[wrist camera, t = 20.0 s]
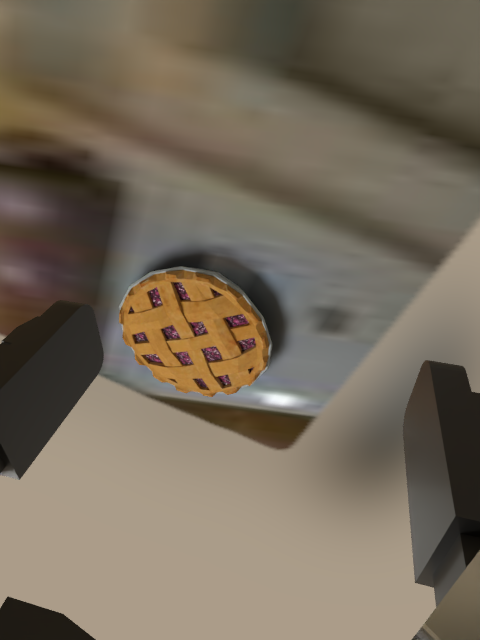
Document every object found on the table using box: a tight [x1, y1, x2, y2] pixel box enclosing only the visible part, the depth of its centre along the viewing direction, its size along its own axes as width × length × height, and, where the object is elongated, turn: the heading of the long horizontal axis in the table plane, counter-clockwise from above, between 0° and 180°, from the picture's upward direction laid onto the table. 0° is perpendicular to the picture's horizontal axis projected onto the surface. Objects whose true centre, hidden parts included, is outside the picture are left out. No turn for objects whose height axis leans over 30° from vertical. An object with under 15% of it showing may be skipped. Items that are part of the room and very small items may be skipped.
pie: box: [119, 266, 272, 397], centre depth 59 cm, size 22×22×5 cm
